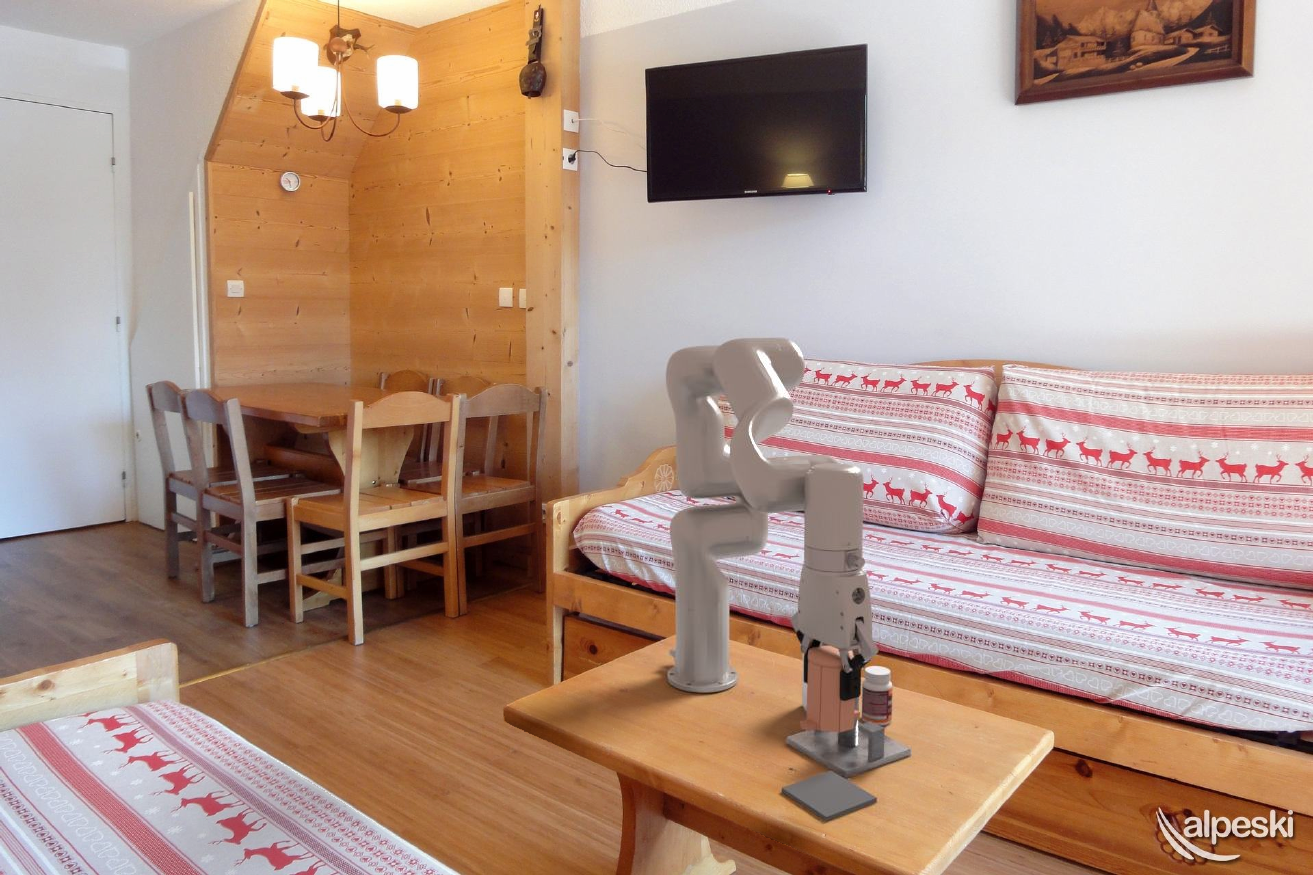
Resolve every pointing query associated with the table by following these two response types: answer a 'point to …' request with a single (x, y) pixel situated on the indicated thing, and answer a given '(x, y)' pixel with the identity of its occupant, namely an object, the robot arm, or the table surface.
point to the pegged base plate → (850, 747)
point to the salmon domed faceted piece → (827, 693)
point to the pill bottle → (877, 696)
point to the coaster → (829, 795)
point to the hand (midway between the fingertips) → (831, 688)
